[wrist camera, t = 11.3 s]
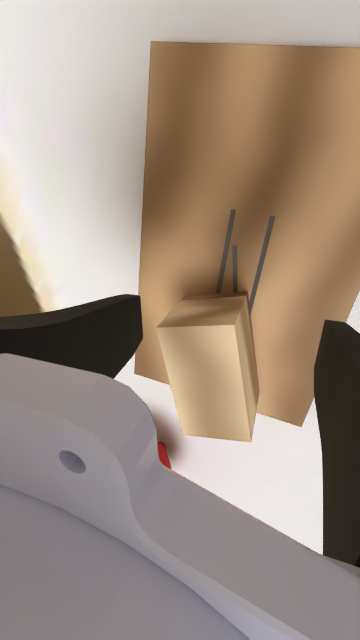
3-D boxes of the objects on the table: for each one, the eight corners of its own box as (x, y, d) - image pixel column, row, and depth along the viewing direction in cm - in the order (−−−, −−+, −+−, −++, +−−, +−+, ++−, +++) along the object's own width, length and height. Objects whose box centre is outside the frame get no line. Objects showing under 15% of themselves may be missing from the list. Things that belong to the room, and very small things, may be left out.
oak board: (448, 60, 14) (461, 50, 12) (301, 416, 24) (301, 427, 23) (159, 49, 17) (150, 41, 16) (140, 365, 27) (134, 373, 26)
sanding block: (247, 291, 20) (234, 325, 16) (259, 391, 23) (251, 442, 19) (183, 296, 21) (156, 327, 17) (202, 389, 24) (182, 434, 20)
